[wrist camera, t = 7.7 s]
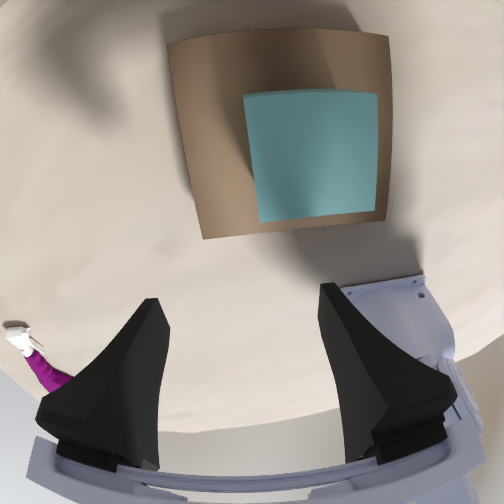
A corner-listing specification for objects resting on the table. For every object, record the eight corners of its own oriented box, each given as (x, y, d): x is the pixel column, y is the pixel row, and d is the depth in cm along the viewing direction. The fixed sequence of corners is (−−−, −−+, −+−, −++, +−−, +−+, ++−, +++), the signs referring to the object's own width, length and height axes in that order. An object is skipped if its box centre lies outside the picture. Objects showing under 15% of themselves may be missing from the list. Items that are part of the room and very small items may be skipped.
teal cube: (336, 88, 13) (377, 93, 8) (339, 173, 15) (374, 210, 11) (242, 94, 13) (242, 98, 9) (254, 181, 16) (259, 223, 11)
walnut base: (367, 40, 13) (388, 36, 11) (368, 201, 20) (385, 220, 17) (178, 49, 13) (166, 43, 11) (207, 217, 20) (202, 239, 18)
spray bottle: (81, 406, 42) (0, 322, 28) (123, 411, 41) (36, 320, 28) (77, 418, 39) (-9, 335, 26) (120, 425, 38) (27, 336, 25)
